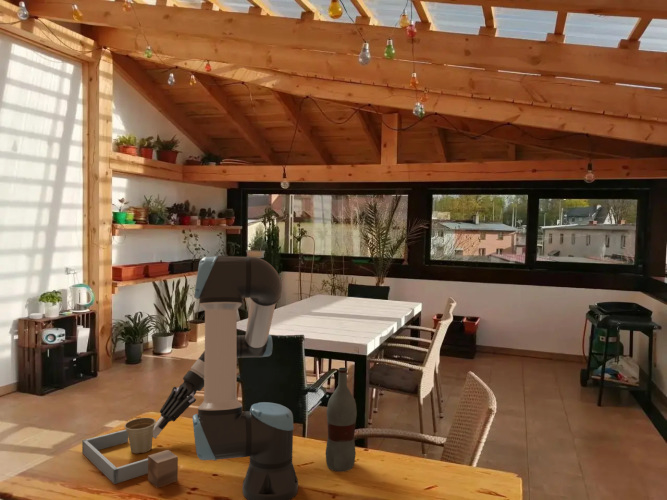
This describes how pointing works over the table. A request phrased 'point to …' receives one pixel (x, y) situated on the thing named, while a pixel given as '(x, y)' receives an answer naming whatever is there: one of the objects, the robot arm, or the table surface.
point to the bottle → (341, 427)
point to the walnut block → (162, 468)
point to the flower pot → (140, 434)
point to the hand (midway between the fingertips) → (151, 436)
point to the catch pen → (104, 465)
